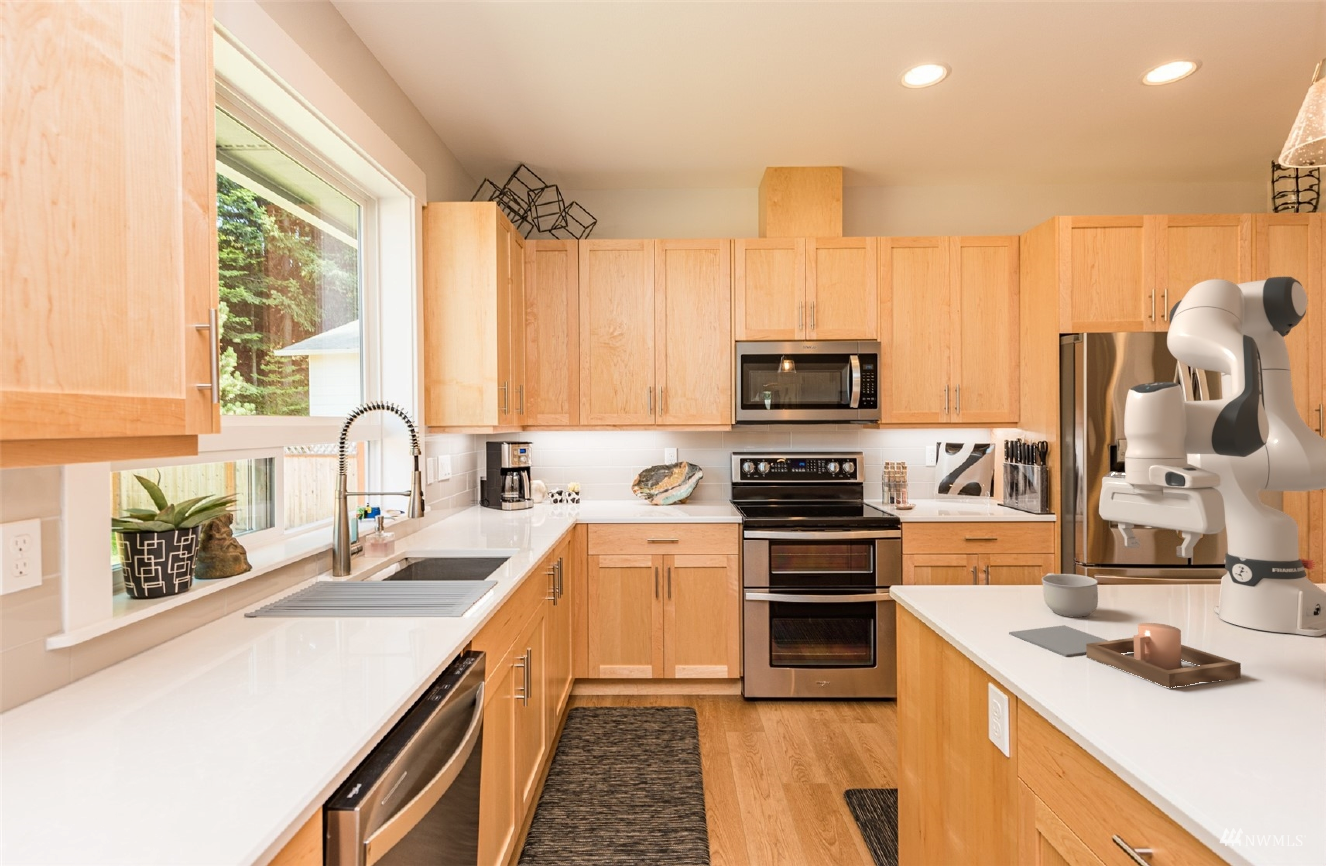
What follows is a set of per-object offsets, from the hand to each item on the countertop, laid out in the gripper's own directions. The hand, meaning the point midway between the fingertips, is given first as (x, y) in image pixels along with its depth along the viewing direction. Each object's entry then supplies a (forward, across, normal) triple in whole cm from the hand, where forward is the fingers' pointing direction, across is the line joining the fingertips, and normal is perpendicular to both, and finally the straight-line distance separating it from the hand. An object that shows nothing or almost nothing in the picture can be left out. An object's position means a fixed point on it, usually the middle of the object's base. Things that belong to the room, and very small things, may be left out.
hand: (1157, 552), depth 114 cm
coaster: (+20, -16, -4) cm, 26 cm away
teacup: (+20, -32, +13) cm, 40 cm away
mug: (+20, 0, 0) cm, 21 cm away
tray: (+20, 0, 0) cm, 20 cm away
